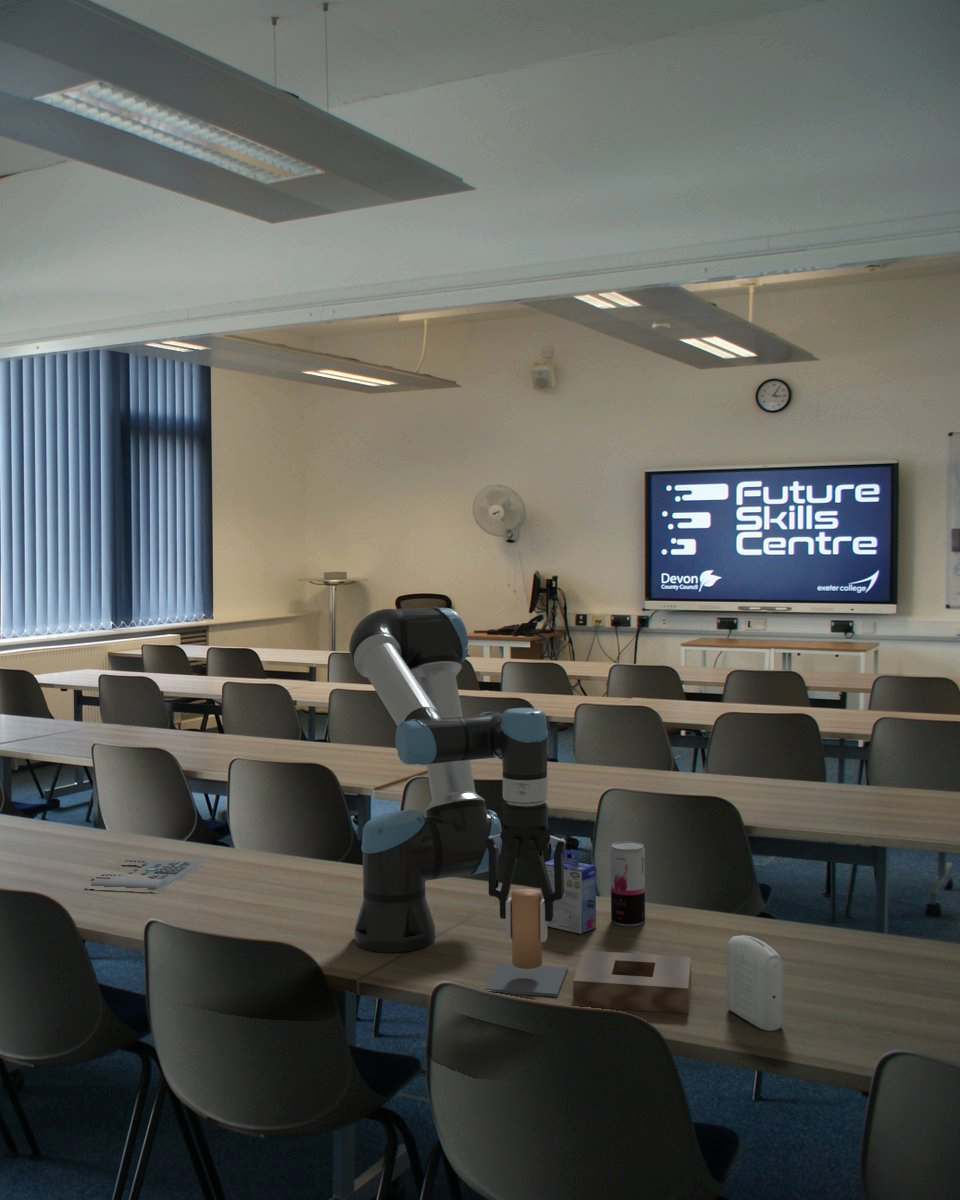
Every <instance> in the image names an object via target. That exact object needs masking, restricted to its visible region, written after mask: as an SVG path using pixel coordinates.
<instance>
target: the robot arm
mask: <svg viewBox="0 0 960 1200" xmlns="http://www.w3.org/2000/svg"><path fill="white" fill-rule="evenodd" d="M467 632H468V631H467V628H466V626H465V622H464V621H463V619H462V618H461V615H460V614H459V613H458V612H456V611H455V610H454V609H453V608H448V607H436V606H429V607H419V608H418V607H415V608H413V607H411V608H409V607H408V608H383V609H379V610H375V611H374V612H371V613H370V614H368V615H366V616H365V617H364V618H363V619H362V620H361V621H359V623H358V624H357V625H356V627H355V628H354V630H353V631H352V634H351V636H350V639H349V644H348V646H349V647H348V648H349V657H350V661H351V662H352V665H353V666H354V668H355V669H356V671H357V672H358V673H359V675H361V676H362V677H364V678H366V679H368V681H369V682H370V683H371V685H372V687H373V688H374V690H375V692H376V694H377V695H378V697H379V699H380V700H381V701H382V703H383V705H384V707H385V708H386V710H387V711H388V713H389V716H391V718H392V720H393V721H394V723H395V725H396V726H397V727H396V730H395V749H396V750H397V757H398V758H399V760H400V761H401V762H402V763H403V764H405V765H409V766H410V765H411V766H412V765H413V766H414V765H420V766H426V769H427V776H428V781H429V788H430V795H431V802H430V803H429V805H427V807H426V809H425V812H426V813H425V814H426V817H425V815H424V813H423V812H422V811H419V810H415V809H414V810H413V809H407V810H395V811H394V810H393V811H389V812H385V813H382V814H379V815H377V816H374V817H372V818H371V819H370V820H368V821H367V822H366V823H365V824H364V825H363V829H362V841H361V847H360V848H361V851H362V885H363V886H362V889H363V891H362V893H363V895H362V896H363V897H362V899H363V900H362V904H361V906H360V910H359V913H358V915H357V920H356V923H355V926H354V942H355V944H356V946H358V947H360V948H361V949H364V950H367V951H372V952H376V953H377V952H378V953H403V952H409V951H410V952H411V951H416V950H419V949H423V948H425V947H427V946H430V945H431V944H432V943H434V941H435V940H436V924H435V921H434V918H433V916H432V912H431V909H430V908H429V907H430V906H429V904H428V900H427V898H426V882H427V881H433V880H434V881H435V880H440V879H448V878H455V877H462V876H463V877H464V876H469V877H470V876H472V877H473V876H474V875H477V874H482V873H487V872H488V896H490V897H495V898H497V899H498V901H499V917H500V919H503V920H505V940H506V941H512V902H511V896H509V894H510V890H511V886H512V882H513V879H514V875H515V871H516V867H517V863H518V860H519V859H520V858H528V859H532V863H533V865H534V867H535V871H536V875H537V878H538V881H539V884H540V885H539V886H540V891H541V890H542V893H543V897H544V899H542V901H541V903H540V942H542V943H545V942H546V941H547V939H548V926H547V921H551V920H552V918H553V901H555V900H560V899H561V898H562V896H563V894H564V871H563V852H564V849H565V847H566V844H567V839H566V838H565V837H560V838H559V837H556V836H554V835H552V833H551V831H550V829H549V818H548V817H549V814H548V813H549V811H548V810H549V809H548V807H549V806H548V803H547V802H546V801H547V799H548V798H549V796H548V787H549V786H548V736H549V735H548V734H549V732H548V731H549V730H548V727H547V716H546V713H545V712H544V711H543V710H542V709H539V708H532V707H515V708H508V709H506V710H504V711H503V713H502V712H499V711H485V712H481V713H480V714H478V715H472V716H471V715H470V716H463V711H462V705H461V699H460V693H459V688H458V683H457V682H458V681H457V675H458V674H459V673H460V672H461V670H462V663H463V662H465V661H466V658H467V657H468V653H469V646H468V645H469V637H468V633H467ZM484 759H499V760H501V761H502V799H503V800H504V801H505V802H504V803H503V804H502V825H501V821H500V820H501V819H500V818H499V817H498V814H497V813H496V812H495V811H493V810H491V809H487V807H486V806H487V805H486V801H485V799H484V798H483V797H481V796H480V795H479V794H477V792H476V787H475V782H474V776H473V770H472V764H471V761H475V760H476V761H477V760H484ZM502 843H503V844H504V845H505V846H506V848H507V850H508V851H509V853H508V854H509V855H508V858H507V864H506V868H505V872H504V875H503V880H502V884H501V888H500V887H499V868H500V867H499V863H500V862H499V858H500V855H501V852H502V851H501V850H502V845H503V844H502ZM548 843H550V845H551V847H550V848H551V850H552V851H553V852H554V853H553V859H554V882H555V891H552V887H551V884H550V880H549V876H548V873H547V869H546V865H545V862H546V861H545V857H544V852H543V850H544V849H545V848H546V846H547V845H548Z"/></svg>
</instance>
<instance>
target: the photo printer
mask: <svg viewBox="0 0 960 1200" xmlns="http://www.w3.org/2000/svg"><path fill="white" fill-rule="evenodd" d="M726 1006H727V1009H728V1010H730V1011H731V1012H732V1013H734V1014H736V1016H739V1017H740V1018H742V1019H743V1020H745V1021H746V1022H748V1023H750V1024H751V1025H753V1026H755V1027H756V1028H758V1029H761V1030H764V1031H767V1032H774V1031H777V1030H779V1029H780V1028H781V1027H782V1025H783V1019H784V962H783V960H782V958H781V956H780V955H779V954H778V952H777V951H776V950H775V949H774V948H772V947H771V946H770V945H769V944H767V943H765V942H764V941H762V940H761V939H759V938H756V937H753V936H749V935H745V934H744V935H735V936H732V937H731V938H730V939H729V940H728V943H727V946H726Z"/></svg>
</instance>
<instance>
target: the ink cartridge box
mask: <svg viewBox="0 0 960 1200" xmlns="http://www.w3.org/2000/svg"><path fill="white" fill-rule="evenodd" d="M580 853H581V852H580V851H576V850H572V849H565V848H564V850H563V871H564V894H563V896H562V898H561V899H560V900H555V901H553V918H552V920H551V921H547V928H548V927H550V928H554V929H558V930H562V931H567V932H570V933H575V934H581V935H582V934H584V933H588V932H589V931H591V930H595V929H596V928H597V896H596V895H597V881H596V880H597V877H596V876H597V873H596V872H597V871H596V870H597V866H596V865H594V864H588V863H582V862H579V858H580ZM566 855H573V856H574V857H575V858H571V857H566ZM544 862H545V865H546V869H547V873H548V876H549V880H550V884H551V887H552V891H555V882H554V858H553V859H551V860H547V861H544ZM540 892H541V901H542V899H544V897H543V893H542V890H541V889H540Z"/></svg>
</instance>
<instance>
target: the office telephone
mask: <svg viewBox="0 0 960 1200" xmlns="http://www.w3.org/2000/svg"><path fill="white" fill-rule="evenodd" d="M127 861H129V862H132V861H133V862H135V863H136V861H137V862H138V863H140V862H141V863H144V864H142V865H141V866H137V868H142V867H147V869H145V868H144V870H143V871H142V869H141V871H142V872H143V873H142V874H141V875H146V874H148V876H149V877H148V878H150V879H142V878H117V877H96V879H94V880H93V879H92V882H91V886H104V887H126V888H148V889H146V890H149V891H150V890H151V891H160V890H161V889H163V888H165V887H166V886H168V885H169V884H171V883H172V882H174V881H175V880H177V879H178V878H180V877H182V876H183V875H185V874H186V873H188V872H189V871H190V870H192V869H193V868H195V867H196V866H198V865H199V864H200V863H202V862H203V863H204V861H203V860H179V859H157V860H139V859H138V860H137V859H126V861H125V862H127ZM146 861H147V862H146ZM148 864H149V865H148ZM132 871H135V872H136V871H137V872H139V871H138V869H136V868H134V869H133V870H132ZM141 871H140V872H141ZM135 872H134V874H135ZM132 873H133V872H131V871H130V872H128V873H127V874H132ZM104 875H105V874H102V875H101V876H104ZM108 875H109V876H112V875H113V876H116V875H118V876H121V875H122V874H110V873H109V874H107V875H105V876H108Z"/></svg>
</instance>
